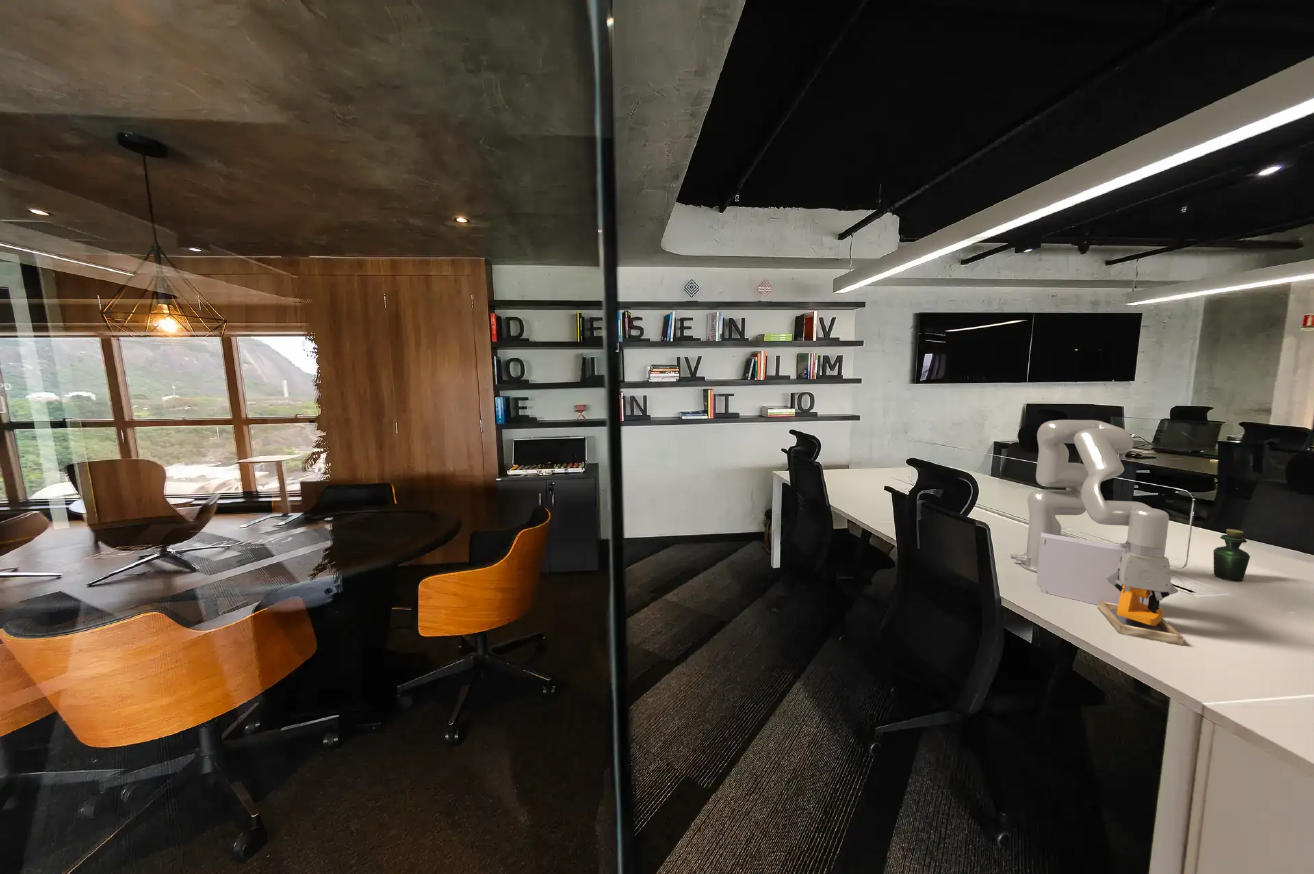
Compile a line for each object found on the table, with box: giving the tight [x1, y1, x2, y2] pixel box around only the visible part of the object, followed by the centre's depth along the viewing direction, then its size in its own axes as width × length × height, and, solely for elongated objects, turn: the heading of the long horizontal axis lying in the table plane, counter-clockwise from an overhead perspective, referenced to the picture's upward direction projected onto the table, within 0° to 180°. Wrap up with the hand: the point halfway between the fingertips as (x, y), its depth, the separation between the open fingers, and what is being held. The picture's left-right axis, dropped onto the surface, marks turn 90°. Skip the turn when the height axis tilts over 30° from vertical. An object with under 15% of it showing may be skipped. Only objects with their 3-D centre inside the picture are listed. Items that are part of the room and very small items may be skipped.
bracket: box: [1117, 585, 1165, 626], centre depth 129 cm, size 11×7×12 cm, turn 119°
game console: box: [1035, 533, 1152, 606], centre depth 144 cm, size 6×27×20 cm, turn 47°
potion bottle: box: [1213, 528, 1251, 583], centre depth 159 cm, size 8×8×18 cm
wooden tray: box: [1097, 601, 1184, 647], centre depth 130 cm, size 12×16×2 cm
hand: (1138, 608), depth 129 cm, fingers closed on bracket, 4 cm apart
